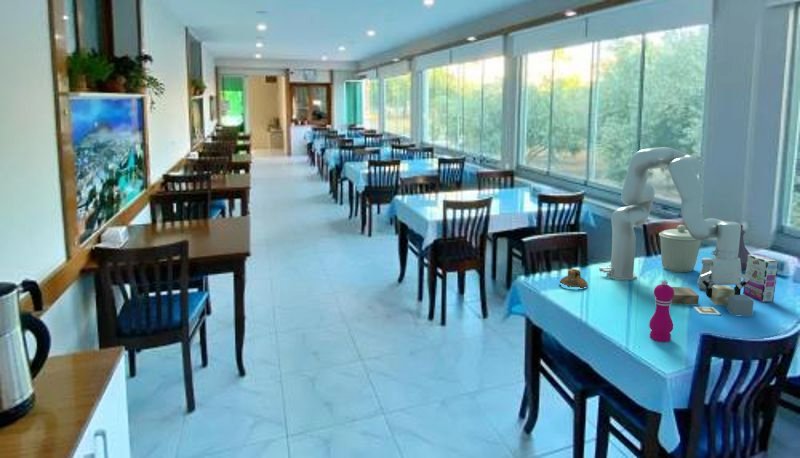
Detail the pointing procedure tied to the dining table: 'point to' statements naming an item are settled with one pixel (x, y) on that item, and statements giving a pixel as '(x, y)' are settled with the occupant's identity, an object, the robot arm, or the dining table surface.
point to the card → (707, 310)
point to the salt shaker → (704, 271)
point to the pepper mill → (662, 313)
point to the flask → (742, 251)
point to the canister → (679, 249)
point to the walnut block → (684, 296)
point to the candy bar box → (761, 277)
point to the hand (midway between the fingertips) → (722, 297)
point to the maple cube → (721, 294)
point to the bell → (574, 279)
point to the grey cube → (740, 305)
